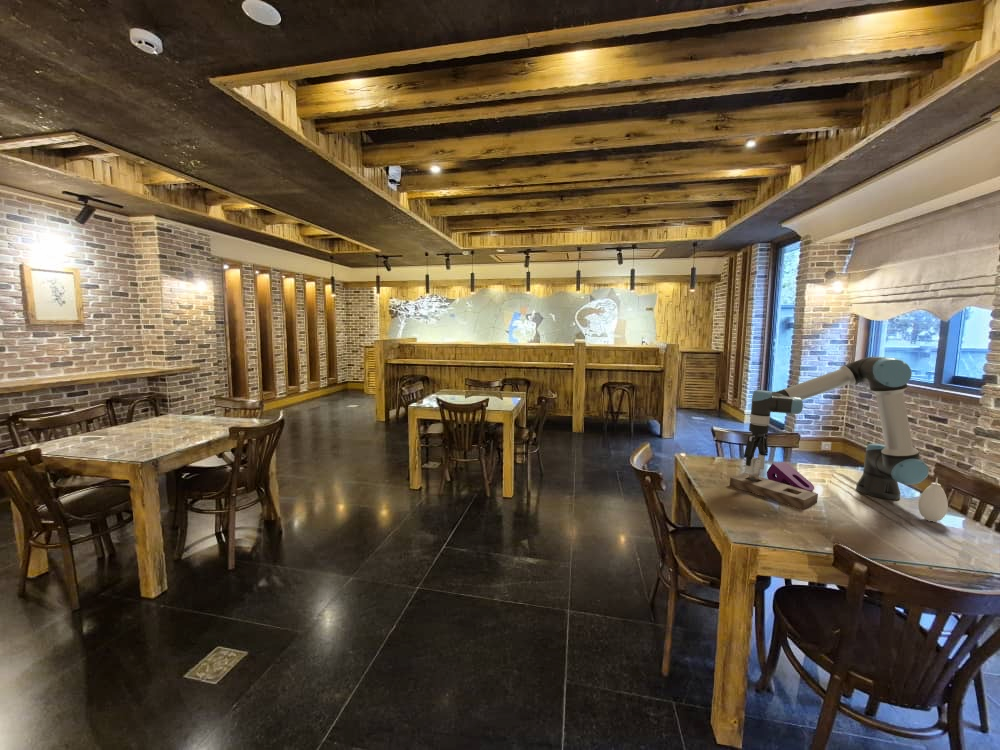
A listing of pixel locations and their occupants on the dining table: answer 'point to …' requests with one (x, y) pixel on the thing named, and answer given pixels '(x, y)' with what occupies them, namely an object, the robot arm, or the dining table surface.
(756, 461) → the steel pin
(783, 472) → the mounting bracket
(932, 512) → the white rounded egg-shaped figurine
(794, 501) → the mount plate
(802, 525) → the dining table surface
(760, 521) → the dining table surface
